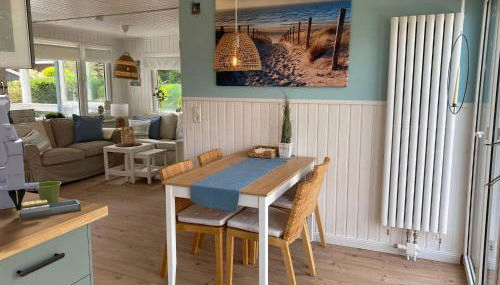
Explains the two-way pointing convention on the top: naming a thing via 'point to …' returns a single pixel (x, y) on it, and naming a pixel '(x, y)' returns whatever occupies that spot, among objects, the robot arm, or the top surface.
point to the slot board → (35, 211)
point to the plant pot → (49, 191)
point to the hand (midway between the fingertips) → (18, 209)
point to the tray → (64, 206)
